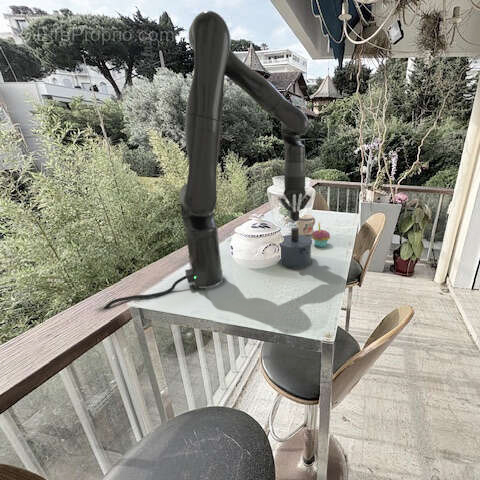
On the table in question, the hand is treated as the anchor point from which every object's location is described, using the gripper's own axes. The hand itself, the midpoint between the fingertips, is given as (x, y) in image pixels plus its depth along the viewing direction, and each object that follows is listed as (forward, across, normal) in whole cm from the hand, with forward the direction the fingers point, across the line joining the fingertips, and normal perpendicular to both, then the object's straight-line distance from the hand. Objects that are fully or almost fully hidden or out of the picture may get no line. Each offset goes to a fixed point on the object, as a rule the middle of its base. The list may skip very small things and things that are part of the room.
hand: (294, 220), depth 101 cm
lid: (+9, 0, 0) cm, 9 cm away
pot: (+17, 0, 0) cm, 17 cm away
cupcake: (+18, -19, -10) cm, 28 cm away
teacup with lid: (+18, -22, -28) cm, 40 cm away
